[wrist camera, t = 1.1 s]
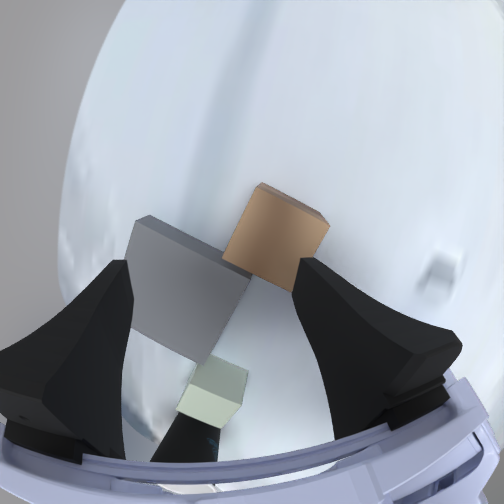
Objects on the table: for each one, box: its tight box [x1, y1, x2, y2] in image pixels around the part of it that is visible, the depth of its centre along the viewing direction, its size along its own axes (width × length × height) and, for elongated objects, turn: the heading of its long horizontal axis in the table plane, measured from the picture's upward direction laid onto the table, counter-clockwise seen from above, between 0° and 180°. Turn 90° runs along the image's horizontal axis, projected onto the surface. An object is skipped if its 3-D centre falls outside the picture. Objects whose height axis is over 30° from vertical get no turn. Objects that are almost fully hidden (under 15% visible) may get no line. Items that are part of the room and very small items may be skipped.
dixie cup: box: [150, 412, 221, 494], centre depth 24 cm, size 8×8×11 cm
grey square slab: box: [124, 215, 252, 366], centre depth 23 cm, size 10×10×3 cm
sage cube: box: [176, 354, 248, 429], centre depth 25 cm, size 5×5×5 cm
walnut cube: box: [222, 182, 330, 292], centre depth 19 cm, size 5×5×5 cm
